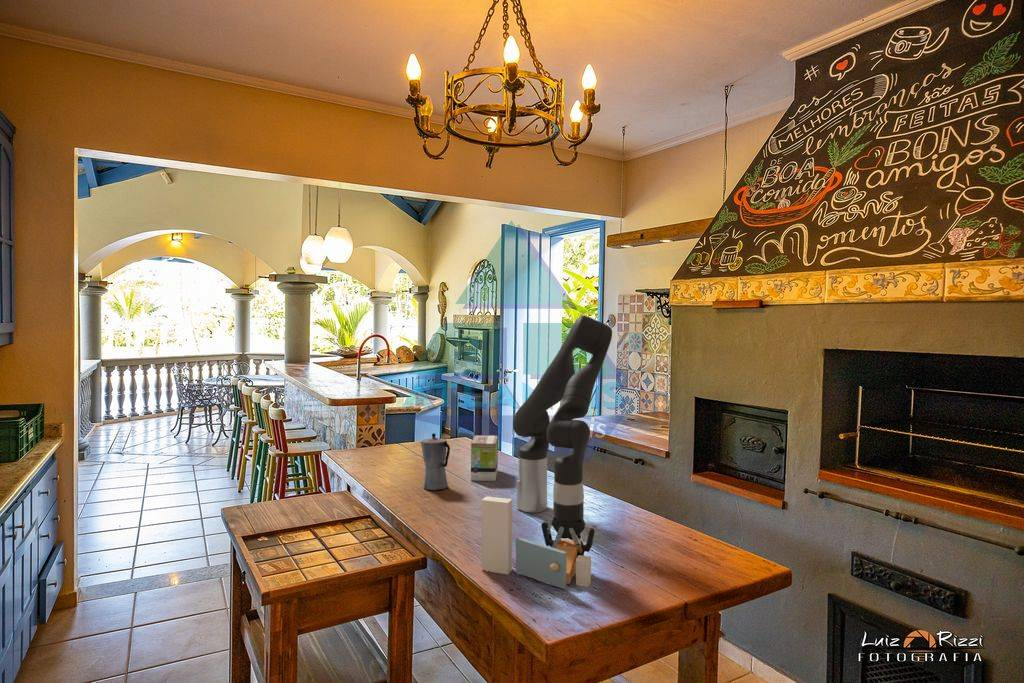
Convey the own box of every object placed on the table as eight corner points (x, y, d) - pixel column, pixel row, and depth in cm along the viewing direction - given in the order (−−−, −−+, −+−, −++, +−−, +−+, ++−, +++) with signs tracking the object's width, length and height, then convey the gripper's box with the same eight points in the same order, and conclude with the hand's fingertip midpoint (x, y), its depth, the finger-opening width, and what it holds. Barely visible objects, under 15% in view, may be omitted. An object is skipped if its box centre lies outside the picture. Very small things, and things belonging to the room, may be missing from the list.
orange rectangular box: (569, 583, 136) (569, 559, 136) (549, 580, 138) (549, 556, 137) (579, 564, 146) (579, 541, 146) (560, 561, 148) (560, 538, 148)
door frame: (482, 570, 145) (481, 500, 144) (486, 565, 148) (486, 496, 147) (588, 586, 136) (588, 511, 135) (590, 581, 139) (591, 507, 138)
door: (512, 574, 141) (512, 540, 141) (518, 570, 143) (518, 537, 143) (560, 591, 133) (560, 555, 132) (566, 586, 135) (566, 551, 134)
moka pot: (432, 480, 221) (431, 429, 220) (460, 488, 211) (460, 434, 210) (413, 486, 213) (412, 433, 212) (441, 495, 204) (441, 439, 203)
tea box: (496, 481, 220) (496, 443, 219) (470, 481, 220) (469, 443, 219) (498, 470, 235) (498, 434, 234) (473, 470, 235) (473, 434, 234)
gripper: (536, 500, 143) (536, 566, 144) (594, 507, 138) (593, 575, 140) (544, 490, 150) (545, 553, 151) (599, 496, 145) (599, 561, 147)
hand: (568, 563), depth 145 cm, fingers closed on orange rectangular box, 5 cm apart
